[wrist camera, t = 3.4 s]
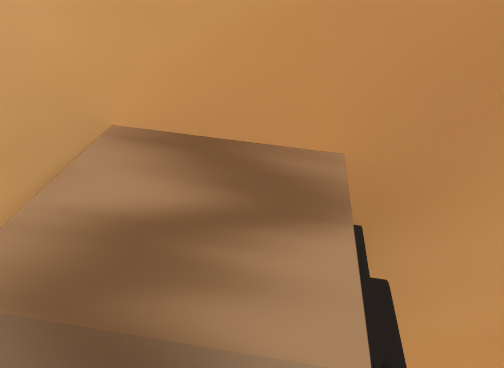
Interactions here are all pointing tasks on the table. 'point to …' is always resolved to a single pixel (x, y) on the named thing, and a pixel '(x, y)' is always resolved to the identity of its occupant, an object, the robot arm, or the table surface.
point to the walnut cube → (184, 259)
